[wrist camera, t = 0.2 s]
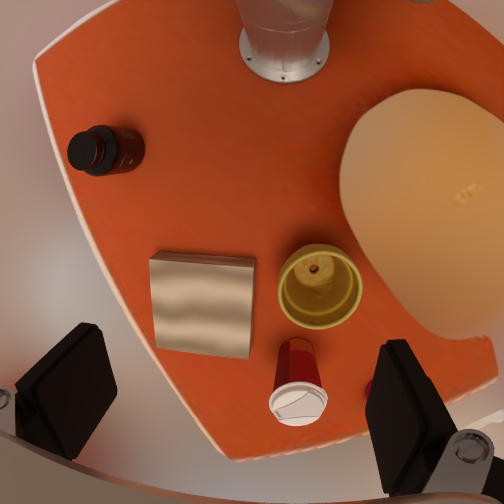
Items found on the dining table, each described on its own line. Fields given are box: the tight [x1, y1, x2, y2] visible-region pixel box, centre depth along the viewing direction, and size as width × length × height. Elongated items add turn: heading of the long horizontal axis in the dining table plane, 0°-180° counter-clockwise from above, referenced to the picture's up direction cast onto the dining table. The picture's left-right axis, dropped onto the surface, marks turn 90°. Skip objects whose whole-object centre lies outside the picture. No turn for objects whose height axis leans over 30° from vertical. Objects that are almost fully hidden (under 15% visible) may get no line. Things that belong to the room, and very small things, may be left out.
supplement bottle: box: [67, 125, 144, 176], centre depth 38 cm, size 7×7×12 cm
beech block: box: [149, 251, 256, 359], centre depth 47 cm, size 15×15×4 cm
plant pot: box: [277, 244, 363, 329], centre depth 41 cm, size 10×10×10 cm
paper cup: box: [269, 338, 328, 426], centre depth 44 cm, size 8×8×14 cm
